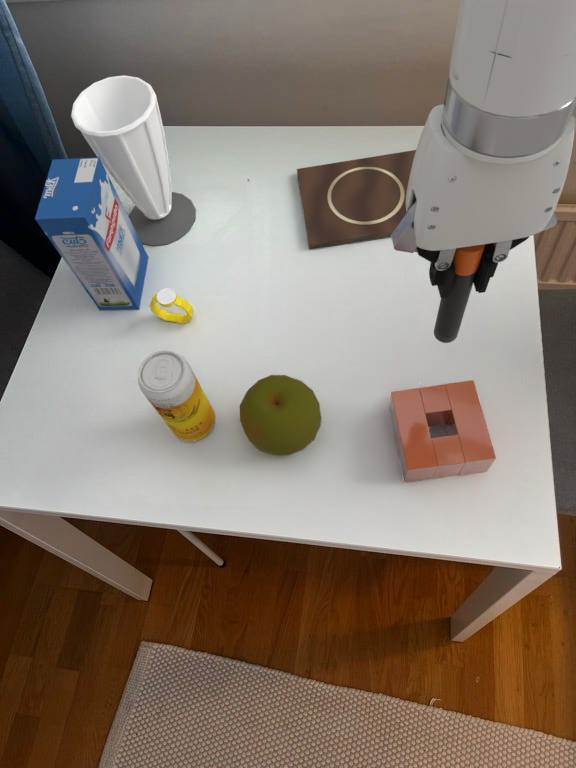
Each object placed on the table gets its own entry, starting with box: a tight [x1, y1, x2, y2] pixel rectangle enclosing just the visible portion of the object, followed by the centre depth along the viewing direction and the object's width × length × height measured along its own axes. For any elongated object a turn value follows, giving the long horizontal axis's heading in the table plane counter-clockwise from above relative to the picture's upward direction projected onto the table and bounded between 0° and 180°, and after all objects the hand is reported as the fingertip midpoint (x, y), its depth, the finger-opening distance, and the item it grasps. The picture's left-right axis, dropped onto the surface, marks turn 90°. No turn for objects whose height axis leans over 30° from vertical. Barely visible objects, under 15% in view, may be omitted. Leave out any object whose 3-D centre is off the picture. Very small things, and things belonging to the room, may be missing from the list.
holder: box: [388, 379, 497, 484], centre depth 71 cm, size 10×10×5 cm
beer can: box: [137, 350, 216, 443], centre depth 71 cm, size 6×6×15 cm
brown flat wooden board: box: [296, 149, 416, 250], centre depth 91 cm, size 20×16×1 cm
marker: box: [433, 244, 485, 344], centre depth 53 cm, size 2×2×14 cm
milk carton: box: [34, 156, 149, 311], centre depth 81 cm, size 10×6×20 cm, turn 178°
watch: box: [149, 287, 194, 325], centre depth 83 cm, size 6×3×6 cm, turn 78°
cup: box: [70, 75, 197, 247], centre depth 85 cm, size 12×12×22 cm
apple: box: [238, 374, 322, 456], centre depth 71 cm, size 10×10×11 cm
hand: (458, 281), depth 51 cm, fingers closed on marker, 2 cm apart
